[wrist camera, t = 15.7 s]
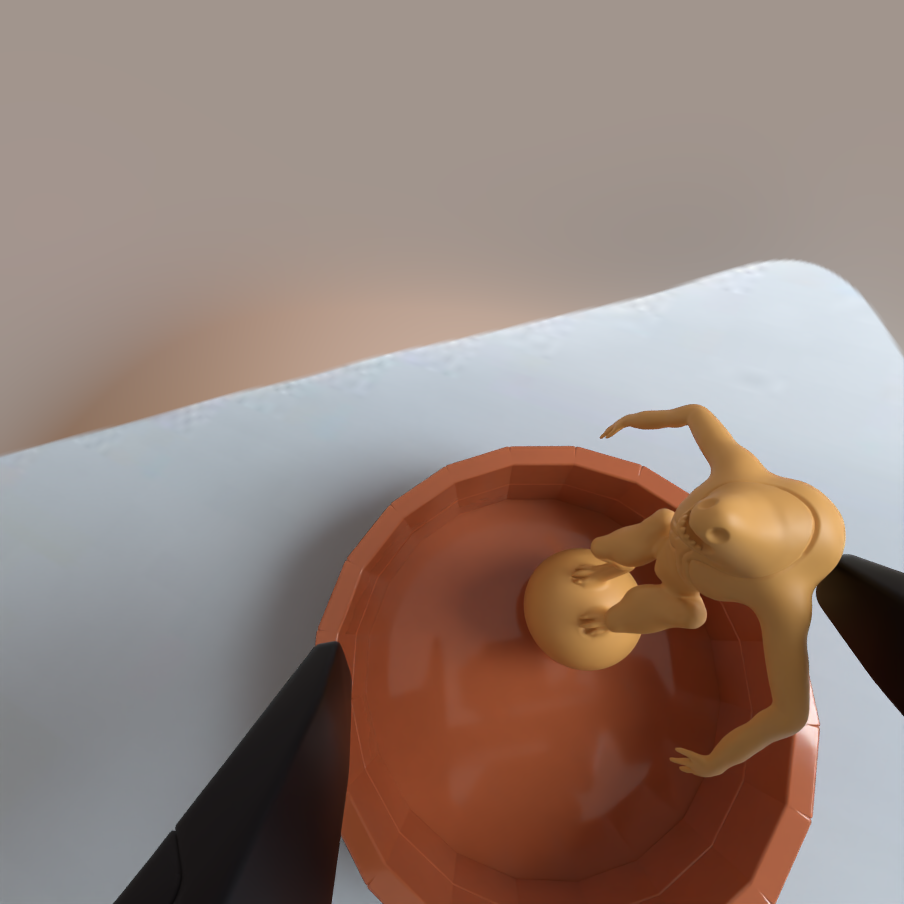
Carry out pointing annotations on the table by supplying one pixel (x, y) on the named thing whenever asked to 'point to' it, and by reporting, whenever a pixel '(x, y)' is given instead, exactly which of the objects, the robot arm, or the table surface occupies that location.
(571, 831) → the pot
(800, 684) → the figurine
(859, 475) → the table surface
